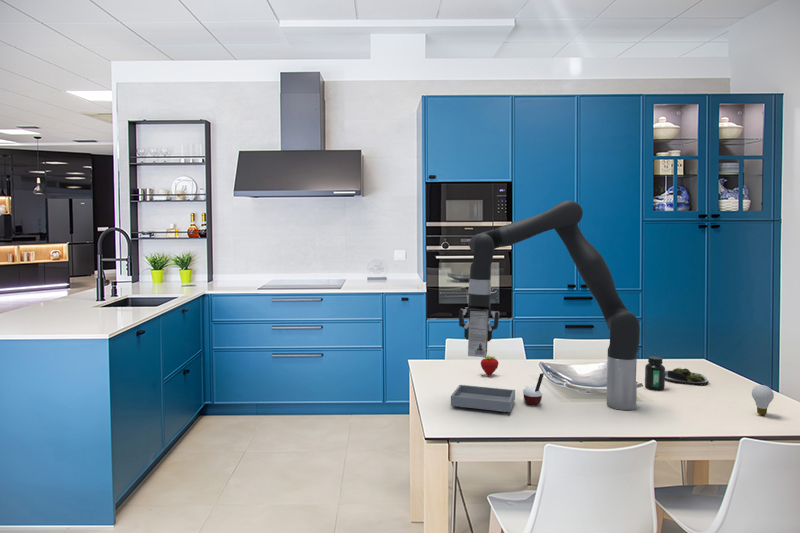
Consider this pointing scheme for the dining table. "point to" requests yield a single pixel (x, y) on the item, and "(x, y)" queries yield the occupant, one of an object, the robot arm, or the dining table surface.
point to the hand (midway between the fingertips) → (478, 340)
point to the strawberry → (489, 365)
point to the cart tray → (483, 398)
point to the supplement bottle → (655, 374)
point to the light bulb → (762, 398)
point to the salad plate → (685, 377)
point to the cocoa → (533, 393)
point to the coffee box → (478, 332)
